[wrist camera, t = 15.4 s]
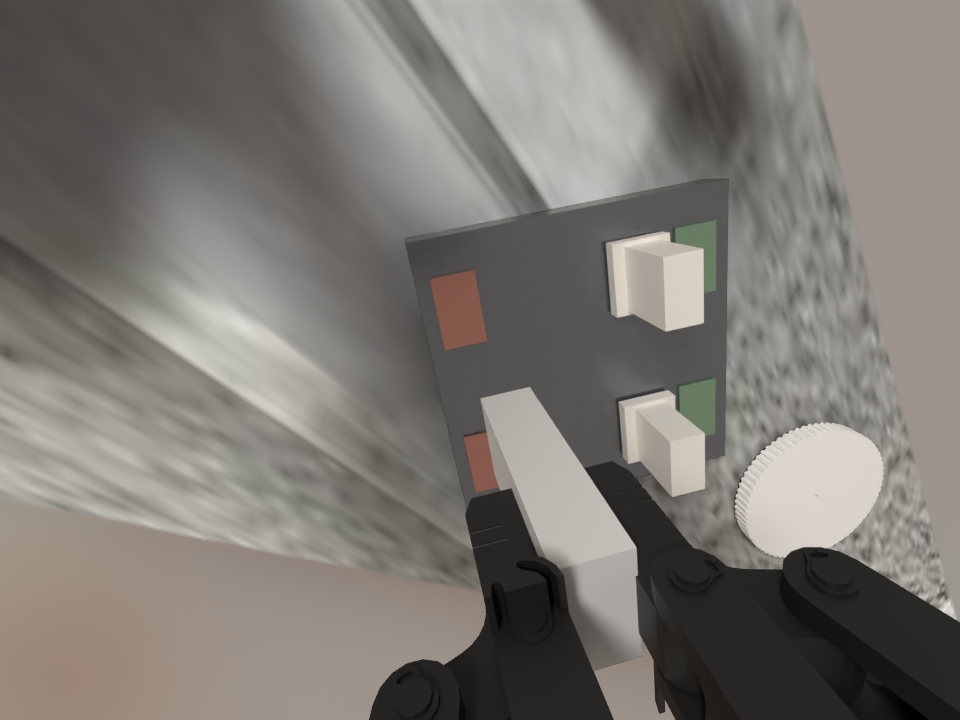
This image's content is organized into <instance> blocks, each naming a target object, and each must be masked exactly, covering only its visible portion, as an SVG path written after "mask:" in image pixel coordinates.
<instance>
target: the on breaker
mask: <svg viewBox="0 0 960 720" xmlns="http://www.w3.org/2000/svg"><path fill="white" fill-rule="evenodd" d="M606 252H607V265H608V278H609V290H610V303H611V314H612V315H614V316H615V317H617V318H618V317H623V316H628V315H632V314H634V315H636V316H638V317H640V318H642V319H643V320H645V321H647V322H649V323H651V324H653V325H654V326H656V327H658V328H660V329H662V330H664V331H671V330H675V329H680V328H684V327H689V326H693V325H697V324H702V323H704V249H702V248H697V247H692V246H688V245H683V244H678V243H673V242H670V233H669V232H663V231H661V232H657V233H652V234H647V235H642V236H637V237H632V238H628V239H623V240H618V241H613V242H608V243H606Z"/></svg>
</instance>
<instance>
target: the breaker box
mask: <svg viewBox="0 0 960 720" xmlns="http://www.w3.org/2000/svg"><path fill="white" fill-rule="evenodd" d="M728 185H729V179H702V180H697V181H692V182H687V183H682V184H677V185H672V186H667V187H662V188H657V189H652V190H646V191H641V192H636V193H631V194H626V195H621V196H616V197H611V198H606V199H601V200H596V201H591V202H586V203H581V204H576V205H571V206H566V207H561V208H556V209H551V210H546V211H541V212H536V213H531V214H526V215H521V216H516V217H511V218H506V219H501V220H496V221H491V222H486V223H481V224H476V225H470V226H465V227H460V228H455V229H450V230H445V231H440V232H435V233H430V234H425V235H420V236H415V237H410V238H405V243H406V248H407V252H408V257H409V261H410V265H411V270H412V274H413V278H414V283H415V287H416V291H417V296H418V300H419V305H420V309H421V313H422V318H423V322H424V326H425V331H426V335H427V339H428V344H429V348H430V353H431V357H432V361H433V366H434V370H435V374H436V379H437V383H438V387H439V392H440V396H441V401H442V405H443V409H444V414H445V418H446V422H447V427H448V431H449V435H450V440H451V444H452V449H453V453H454V457H455V462H456V466H457V470H458V475H459V479H460V483H461V488H462V492H463V497H464V501H465V505H466V510H467V508H468V505H469V502H470V499H471V498H475V497H479V496H483V495H487V494H490V493H494V492H498V491H500V488H499V486H498V483H497V480H496V477H495V474H494V468H493V463H492V458H491V452H490V447H489V442H488V437H487V431H486V426H485V421H484V415H483V410H482V405H481V399H480V398H485V397H489V396H493V395H497V394H502V393H506V392H510V391H514V390H519V389H523V388H527V387H530V388H531V390H532V391H533V393H534V394H535V396H536V397H537V399H538V400H539V402H540V403H541V405H542V406H543V408H544V409H545V411H546V412H547V414H548V415H549V417H550V418H551V420H552V421H553V423H554V424H555V426H556V427H557V429H558V430H559V432H560V433H561V435H562V436H563V438H564V439H565V441H566V442H567V444H568V445H569V447H570V448H571V450H572V451H573V453H574V454H575V456H576V457H577V459H578V460H579V462H580V463H581V465H582V466H583V468H586V467H590V466H594V465H598V464H602V463H606V462H610V461H613V462H615V463H617V464H618V465H620V466H622V467H624V468H625V469H627V470H629V471H630V472H631V473H632V474H633V475H634V477H635V478H637V477H641V476H645V475H649V474H651V473H650V471H649V470H648V469H647V468H646V467H645V466H644V465H643V463H642V462H641V461H639V462H635V463H631V464H628V463H627V462H626V460H625V459H624V458H623V452H622V439H621V426H620V413H619V402H620V401H624V400H628V399H632V398H637V397H641V396H645V395H649V394H654V393H658V392H662V391H666V390H669V391H670V392H671V393H673V394H674V395H675V409H676V410H677V411H678V412H679V413H680V414H682V415H683V416H684V417H685V418H686V419H688V420H689V421H690V422H691V423H693V424H694V425H695V426H696V427H698V428H699V429H700V430H701V431H703V432H704V433H705V460H709V459H713V458H717V457H721V456H725V405H726V331H727V258H728ZM661 231H663V232H669V233H670V242H673V243H678V244H683V245H688V246H692V247H697V248H702V249H704V323H702V324H697V325H693V326H689V327H684V328H680V329H675V330H671V331H664V330H662V329H660V328H658V327H656V326H654V325H653V324H651V323H649V322H647V321H645V320H643V319H642V318H640V317H638V316H636V315H634V314H632V315H628V316H623V317H618V318H617V317H615V316H614V315H612V314H611V303H610V290H609V278H608V265H607V252H606V243H608V242H613V241H618V240H623V239H628V238H632V237H637V236H642V235H647V234H652V233H657V232H661Z"/></svg>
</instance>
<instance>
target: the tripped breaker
mask: <svg viewBox="0 0 960 720" xmlns="http://www.w3.org/2000/svg"><path fill="white" fill-rule="evenodd" d="M619 413H620V426H621V439H622V452H623V458H624V459H625V460H626V462H627V463H628V464H631V463H635V462H639V461H641V462H642V463H643V465H644V466H645V467H646V468H647V469H648V470H649V471H650V473H651V474H652V475H653V476H654V477H655V478H656V479H657V481H658V482H659V483H660V484H661V485H662V486H663V487H664V489H665V490H666V491H667V492H668V493H669V494H670V495H671V497H675V496H679V495H683V494H687V493H691V492H694V491H698V490H702V489H705V433H704V432H703V431H701V430H700V429H699V428H698V427H696V426H695V425H694V424H693V423H691V422H690V421H689V420H688V419H686V418H685V417H684V416H683V415H682V414H680V413H679V412H678V411H677V410H676V409H675V395H674V394H673V393H671V392H670V391H669V390H666V391H662V392H658V393H654V394H649V395H645V396H641V397H637V398H632V399H628V400H624V401H620V402H619Z"/></svg>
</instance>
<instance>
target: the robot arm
mask: <svg viewBox="0 0 960 720" xmlns="http://www.w3.org/2000/svg"><path fill="white" fill-rule="evenodd" d="M480 399H481V405H482V410H483V415H484V421H485V426H486V431H487V437H488V442H489V447H490V452H491V458H492V463H493V468H494V474H495V477H496V480H497V483H498V486H499V488H500V491H498V492H494V493H490V494H487V495H483V496H479V497H475V498H471V499H470V502H469V505H468V508H467V511H466V515H465V516H466V521H467V525H468V530H469V534H470V539H471V543H472V547H473V552H474V556H475V561H476V565H477V570H478V574H479V578H480V583H481V587H482V592H483V596H484V601H485V606H486V618H485V623H484V626H483V628H482V630H481V632H480V635H479V636H478V637H477V639H476V640H475V641H474V643H473V644H472V645H471V646H470V647H469V648H468V649H466V650H465V651H464V652H463V653H461V654H460V655H458V656H457V657H455V658H454V659H453V660H451V661H449V662H448V663H446V664H445V665H443V664H441V663H440V662H438V661H431V660H424V659H422V660H419V661H414V662H411V663H407V664H405V665H404V666H402V667H401V668H399V669H398V670H396V671H395V672H393V673H392V674H391V675H390V676H389V677H388V679H387V680H386V681H385V682H384V683H383V685H382V686H381V687H380V689H379V691H378V694H377V696H376V698H375V701H374V703H373V706H372V710H371V714H370V718H369V720H614V719H613V717H612V714H611V712H610V710H609V707H608V705H607V702H606V700H605V698H604V696H603V693H602V691H601V688H600V686H599V683H598V681H597V678H596V676H595V674H594V671H595V670H598V669H601V668H605V667H608V666H612V665H615V664H618V663H621V662H624V661H628V660H631V659H635V658H638V657H641V656H642V644H641V638H642V639H643V641H644V643H645V645H646V647H647V649H648V650H649V652H650V654H651V656H652V658H653V659H654V679H655V680H654V682H655V701H656V704H657V708H658V711H659V713H663V712H665V700H666V702H667V704H668V706H669V708H670V710H671V712H672V714H673V716H674V717H675V719H676V720H960V622H958V621H957V620H955V619H953V618H952V617H950V616H948V615H947V614H945V613H943V612H942V611H940V610H939V609H937V608H935V607H934V606H932V605H930V604H929V603H927V602H925V601H924V600H922V599H920V598H919V597H917V596H916V595H914V594H912V593H911V592H909V591H907V590H906V589H904V588H902V587H901V586H899V585H897V584H896V583H894V582H892V581H891V580H889V579H888V578H886V577H884V576H883V575H881V574H879V573H878V572H876V571H874V570H873V569H871V568H869V567H868V566H866V565H865V564H863V563H861V562H860V561H858V560H856V559H854V558H852V557H850V556H848V555H845V554H843V553H841V552H839V551H835V550H831V549H826V548H822V547H803V548H800V549H797V550H794V551H791V552H790V553H789V554H788V555H787V556H786V557H785V558H784V560H783V569H782V570H771V569H739V568H731V567H727V566H726V565H725V564H723V563H722V562H721V561H720V560H719V559H718V558H716V557H715V556H713V555H711V554H709V553H706V552H704V551H702V550H699V549H694V548H693V547H692V546H691V545H690V544H689V543H688V542H687V540H686V539H685V538H684V537H683V536H682V534H681V533H680V532H679V531H678V529H677V528H676V527H675V526H674V524H673V523H672V522H671V521H670V520H669V518H668V517H667V516H666V515H665V513H664V512H663V511H662V510H661V509H660V507H659V506H658V505H657V504H656V502H655V501H654V500H653V501H652V498H651V496H650V495H649V494H648V493H647V491H646V490H645V489H644V488H642V485H641V484H640V483H639V481H638V480H637V479H636V478H635V477H634V475H633V474H632V473H631V472H630V471H629V470H627V469H625V468H624V467H622V466H620V465H618V464H617V463H615V462H613V461H610V462H606V463H602V464H598V465H594V466H590V467H586V468H583V466H582V465H581V463H580V462H579V460H578V459H577V457H576V456H575V454H574V453H573V451H572V450H571V448H570V447H569V445H568V444H567V442H566V441H565V439H564V438H563V436H562V435H561V433H560V432H559V430H558V429H557V427H556V426H555V424H554V423H553V421H552V420H551V418H550V417H549V415H548V414H547V412H546V411H545V409H544V408H543V406H542V405H541V403H540V402H539V400H538V399H537V397H536V396H535V394H534V393H533V391H532V390H531V388H530V387H527V388H523V389H519V390H514V391H510V392H506V393H502V394H497V395H493V396H489V397H485V398H480Z"/></svg>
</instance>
